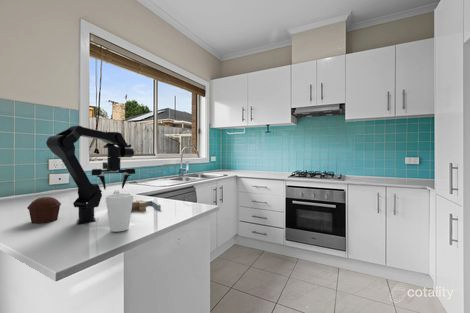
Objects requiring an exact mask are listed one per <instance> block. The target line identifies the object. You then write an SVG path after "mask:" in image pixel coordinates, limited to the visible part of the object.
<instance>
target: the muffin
mask: <svg viewBox="0 0 470 313" xmlns="http://www.w3.org/2000/svg"><path fill="white" fill-rule="evenodd" d="M61 205H62V203H61V202H60V201H59V200H58V199H57V198H55V197H51V196H44V197H39V198H36V199H34V200H33V201H32V202H30V204H29V205H28V206H27V207H26V208H27V210H28V213H29V217H30V218H29V219H30V222H31V224H38V225H39V224H47V223H52V222H54V221H55V222H56V221H57V220H58V218H59V212H60V207H61Z"/></svg>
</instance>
